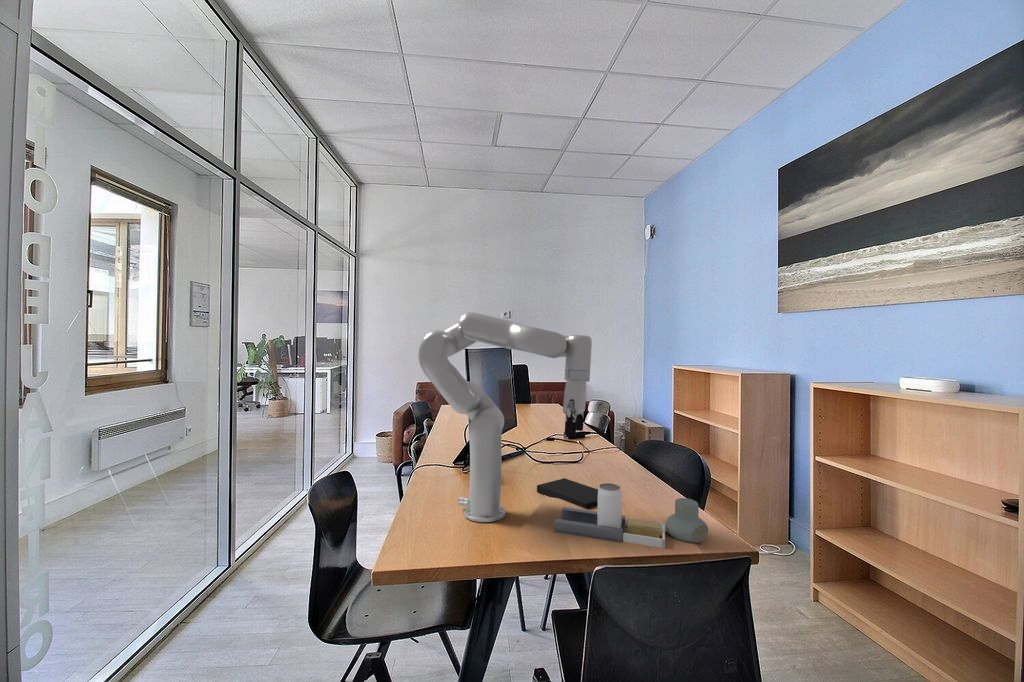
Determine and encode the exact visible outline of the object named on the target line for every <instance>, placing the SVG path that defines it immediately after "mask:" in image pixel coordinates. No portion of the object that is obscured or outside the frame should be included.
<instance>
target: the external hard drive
mask: <svg viewBox="0 0 1024 682" xmlns="http://www.w3.org/2000/svg"><path fill="white" fill-rule="evenodd" d="M598 490H599V488H595V487H592V486H589V485H586V484H583V483H580V482H577V481H574V480H571V479H568V478H565V477H564V478H560V479H555V480H552V481H548V482H545V483H540V484H537V485H536V493H537V492H538V493H537V494H539V493H540V495H541V494H543V495H542V496H544V495H546V496H548V498H555V499H560V500H562V501H564V502H566V503H570V504H573V505H574V506H577V507H580V508H582V509H584V510H589V509H592V508H595V507H598ZM546 496H545V497H546Z"/></svg>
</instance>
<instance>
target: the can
mask: <svg viewBox="0 0 1024 682" xmlns="http://www.w3.org/2000/svg"><path fill="white" fill-rule="evenodd" d="M622 494H623V493H622V490H621V486H620V485H618V484H616V483H615V484H614V483H605V482H604V483H601V484H599V486H598V506H597V511H596V512H597V525H601V526H608V527H614V528H621V521H622V509H623V508H622V507H623V505H622V504H623V503H622V501H623V496H622Z"/></svg>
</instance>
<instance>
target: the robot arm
mask: <svg viewBox="0 0 1024 682" xmlns="http://www.w3.org/2000/svg"><path fill="white" fill-rule="evenodd" d="M477 342H478V343H483V344H487V345H491V346H495V347H499V348H503V349H507V350H516V351H521V352H526V353H530V354H535V355H539V356H543V357H546V358H551V359H557V358H565V367H564V369H565V370H564V381H565V385H564V386H565V387H564V395H563V405H562V413H563V414H564V415H565V419H564V420H565V421H564V435H565V436H567V437H570V436H571V437H576V435H577V431H579V432H583V431H584V420H585V418H584V415H585V414H584V412H585V410H586V405H587V404H586V403H587V402H586V401H587V399H586V398H587V383H589V382H590V381H591V364H592V362H591V361H592V346H593V345H592V344H593V341H592V338H591V337H590V336H588V335H586V334H585V335H582V334H570V335H565V334H562V333H559V332H556V331H551V330H547V329H543V328H539V327H535V326H529V325H526V324H522V323H520V322H516V321H514V320H513V321H512V320H508V319H504V318H500V317H495V316H493V315H491V316H490V315H487V314H483V313H479V312H473V311H472V312H471V311H470V312H466V313H464V314H462V315H461V316H460V317H459V320H458V323H456V324H454V325H453V326H451V327H448V328H447V329H445V330H441V329H440V330H439V329H437V330H431V331H429V332H428V333H427V334H426V335H424V337H423V338H422V340H421V342H420V345H419V347H418V363H419V365H420V367H421V370H422V372H423V373H424V375H425V377H427V379H428V380H429V381H430V382H431V383H432V385H433V387H435V389H436V390H437V392H439V394H440V395H441V396H442V397H443V398H444V399H445V401H446V402H447V403H448V405H449V406H450V407H451V408H452V410H454V411H455V412H456V413H458V414H460V415H466V416H467V417H468V419H469V420H470V424H469V431H468V432H469V454H470V455H469V496H468V497H465V496H459V497H458V499H457V500H458V501H457V502H458V503H457V504H458V506H462V507H463V506H464V507H465V508H464V511H463V515H464V516H463V517H465V518H466V519H467V520H469V521H471V522H472V521H473V522H478V523H491V522H496V521H500V520H502V519H504V518H505V516H506V514H507V513H506V509H505V508H504V507H503V506H501V505H502V503H501V502H502V496H501V495H502V433H503V432H502V431H503V429H504V426H505V416H504V414H503V412H502V411H501V409H500V408H499V407H498V406H497V404H496V403H495V402H494V401H493V400H492V398H491V397H490V396H489V395H488V394H487V393H486V392H485V390H484V389H482V387H481V386H480V385H478V384H477V383H475V382H473V381H467V379H466V378H465V377H464V376H463V375H462V373H460V371H459V370H458V369H457V368H456V366H455V365H453V364H452V362H450V360H449V357H452V356H454V355H455V354H457V353H459V352H461V351H463V350H465V349H466V348H468V347H470V346H471V345H474V344H476V343H477Z"/></svg>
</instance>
